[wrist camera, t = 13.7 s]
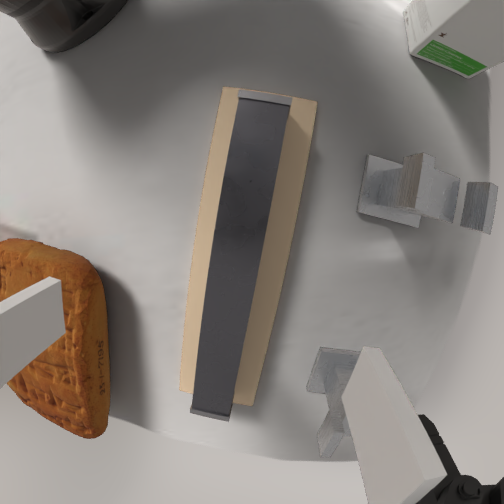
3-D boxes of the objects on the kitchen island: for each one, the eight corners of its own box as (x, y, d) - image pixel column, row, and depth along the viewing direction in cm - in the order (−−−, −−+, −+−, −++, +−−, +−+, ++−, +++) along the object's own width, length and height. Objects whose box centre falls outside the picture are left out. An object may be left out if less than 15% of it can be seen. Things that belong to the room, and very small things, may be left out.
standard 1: (319, 346, 26) (339, 423, 16) (375, 353, 26) (412, 422, 16) (305, 386, 27) (315, 464, 17) (359, 391, 27) (384, 462, 17)
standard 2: (366, 155, 22) (425, 135, 12) (424, 174, 22) (499, 171, 12) (355, 211, 23) (410, 227, 13) (415, 227, 23) (486, 250, 13)
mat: (224, 88, 22) (223, 86, 21) (316, 103, 22) (317, 101, 21) (180, 387, 28) (179, 390, 28) (252, 403, 28) (252, 406, 28)
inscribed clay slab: (124, 415, 30) (99, 455, 23) (31, 368, 31) (0, 394, 23) (125, 255, 26) (76, 279, 18) (16, 223, 26) (-31, 234, 18)
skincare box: (407, 55, 20) (495, -24, 4) (400, 8, 18) (464, -74, 3) (471, 81, 19) (567, 40, 4) (462, 34, 18) (540, -18, 3)
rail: (244, 105, 22) (239, 89, 18) (289, 113, 22) (292, 97, 17) (199, 387, 28) (189, 412, 23) (234, 394, 27) (228, 421, 23)
